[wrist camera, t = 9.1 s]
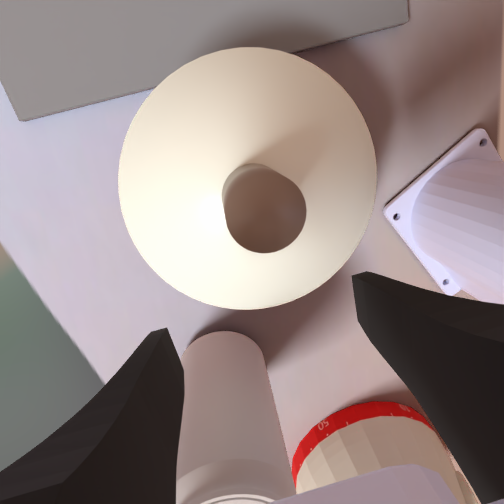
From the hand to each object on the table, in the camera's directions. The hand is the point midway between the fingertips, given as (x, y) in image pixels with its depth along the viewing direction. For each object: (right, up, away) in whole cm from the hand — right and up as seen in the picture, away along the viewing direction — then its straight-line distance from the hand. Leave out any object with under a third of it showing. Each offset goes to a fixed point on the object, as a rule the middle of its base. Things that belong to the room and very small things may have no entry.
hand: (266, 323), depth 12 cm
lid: (-1, +6, +5) cm, 8 cm away
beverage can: (-3, -6, +13) cm, 15 cm away
